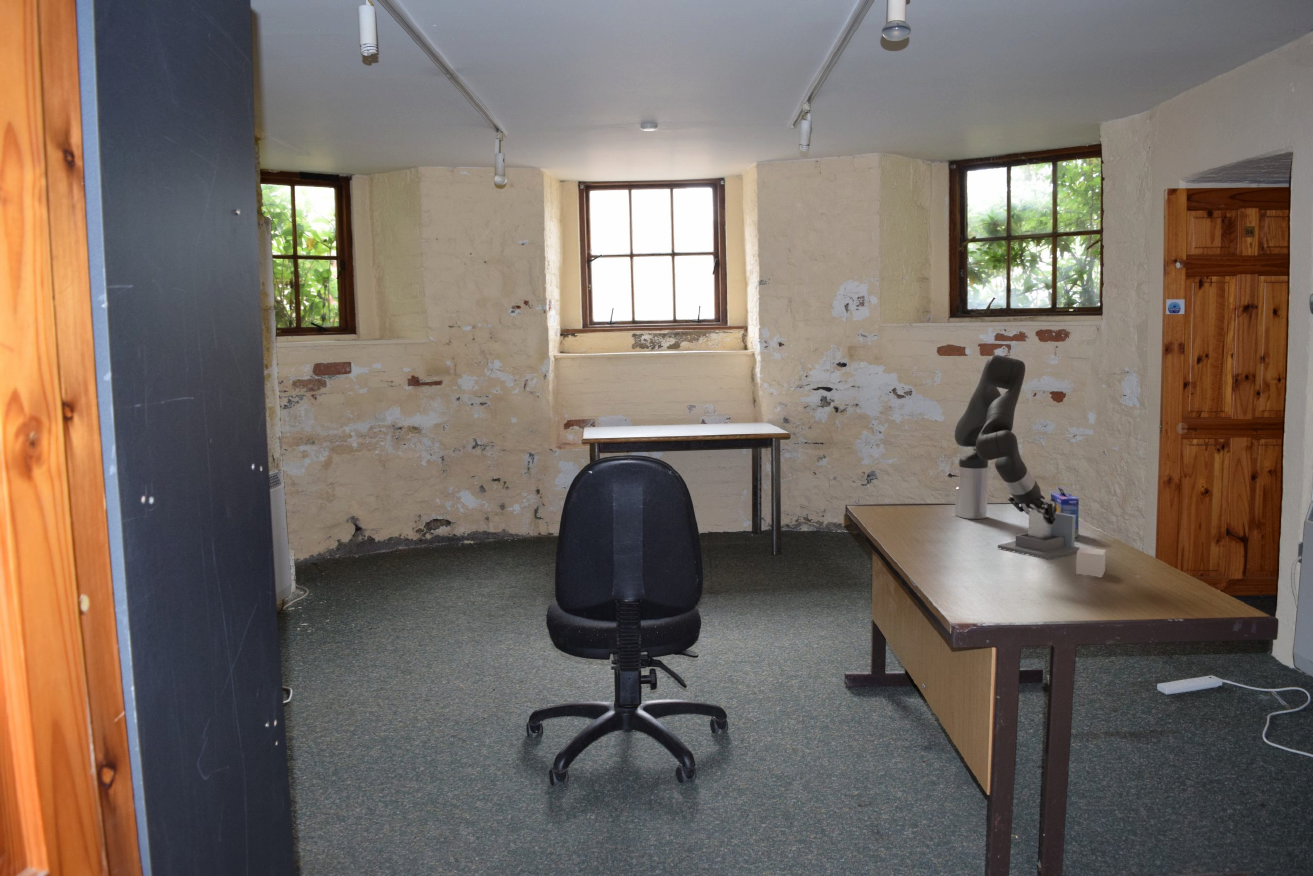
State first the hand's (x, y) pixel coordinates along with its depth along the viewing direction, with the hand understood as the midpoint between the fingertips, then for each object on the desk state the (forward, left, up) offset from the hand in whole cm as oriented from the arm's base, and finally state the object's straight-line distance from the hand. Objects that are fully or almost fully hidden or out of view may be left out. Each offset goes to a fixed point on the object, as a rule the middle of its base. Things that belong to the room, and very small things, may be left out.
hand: (1044, 520), depth 250 cm
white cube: (+22, -14, -9) cm, 27 cm away
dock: (0, -2, -8) cm, 9 cm away
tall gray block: (0, -2, -6) cm, 6 cm away
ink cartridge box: (-7, +22, -9) cm, 25 cm away
